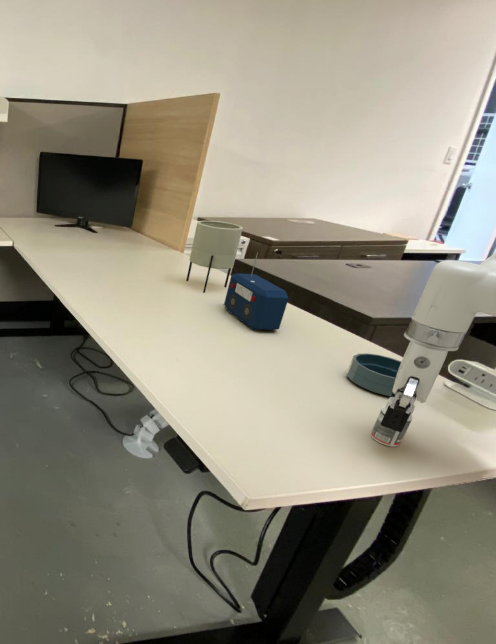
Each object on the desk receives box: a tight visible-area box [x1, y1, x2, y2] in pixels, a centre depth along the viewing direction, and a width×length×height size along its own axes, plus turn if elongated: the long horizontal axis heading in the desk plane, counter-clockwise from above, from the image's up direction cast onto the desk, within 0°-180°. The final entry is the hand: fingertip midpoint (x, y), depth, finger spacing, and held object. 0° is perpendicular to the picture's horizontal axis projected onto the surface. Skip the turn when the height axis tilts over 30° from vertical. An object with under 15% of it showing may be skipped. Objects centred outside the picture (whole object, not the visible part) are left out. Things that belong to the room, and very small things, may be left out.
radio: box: [223, 251, 289, 331], centre depth 140 cm, size 21×9×20 cm, turn 6°
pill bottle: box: [370, 396, 416, 447], centre depth 87 cm, size 5×5×8 cm
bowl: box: [346, 352, 402, 397], centre depth 109 cm, size 13×13×5 cm
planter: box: [185, 220, 244, 294], centre depth 169 cm, size 15×16×23 cm
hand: (393, 417), depth 87 cm, fingers open, 9 cm apart
